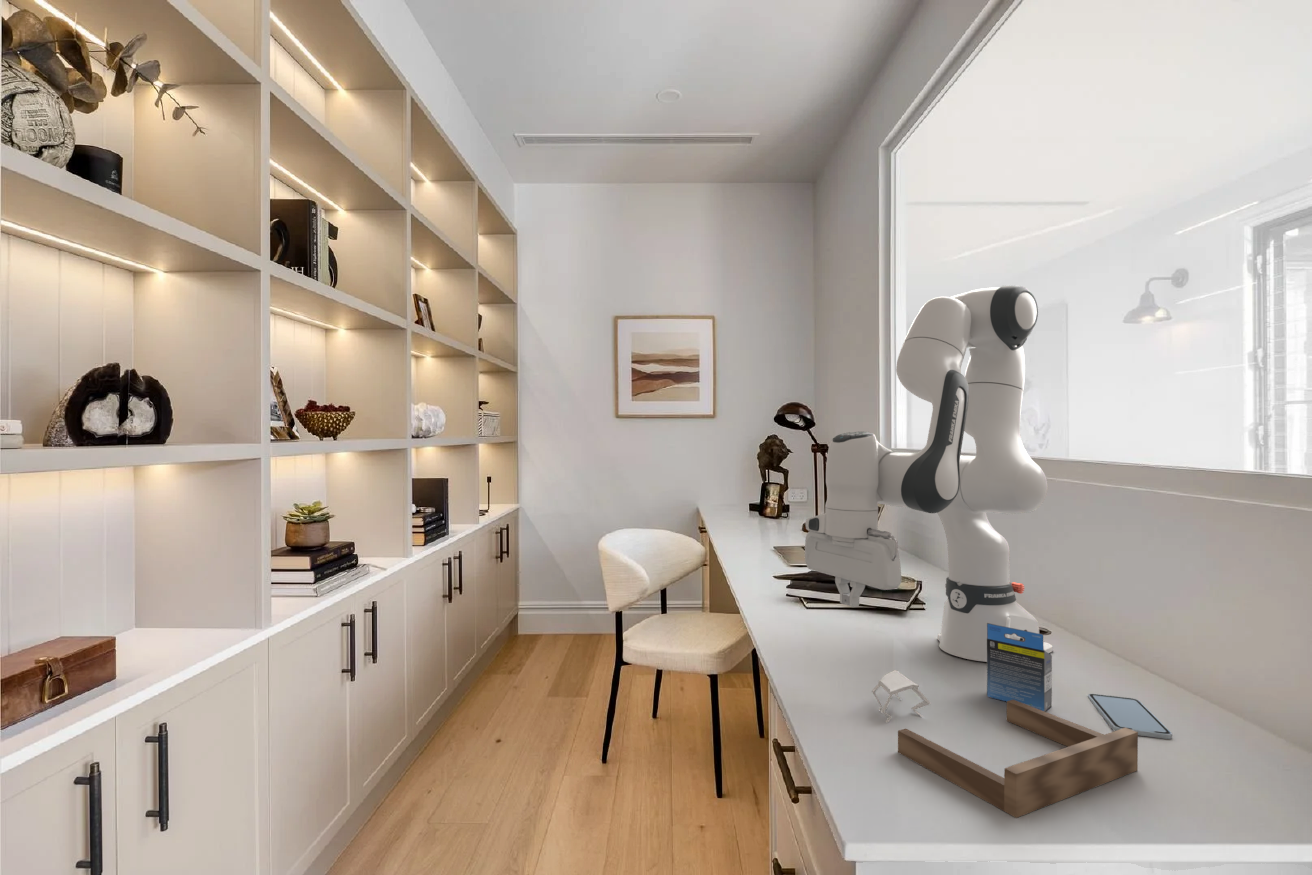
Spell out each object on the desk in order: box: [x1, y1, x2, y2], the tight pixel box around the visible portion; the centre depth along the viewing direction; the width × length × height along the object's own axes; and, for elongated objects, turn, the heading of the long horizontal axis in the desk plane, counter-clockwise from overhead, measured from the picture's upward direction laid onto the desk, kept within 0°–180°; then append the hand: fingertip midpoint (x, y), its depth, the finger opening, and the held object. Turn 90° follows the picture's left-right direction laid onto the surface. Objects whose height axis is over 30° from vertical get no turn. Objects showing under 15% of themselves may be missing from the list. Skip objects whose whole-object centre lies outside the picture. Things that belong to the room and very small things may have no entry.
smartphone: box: [1087, 693, 1173, 740], centre depth 104 cm, size 7×1×15 cm
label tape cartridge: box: [986, 623, 1053, 712], centre depth 110 cm, size 9×4×12 cm, turn 42°
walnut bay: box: [897, 700, 1139, 819], centre depth 90 cm, size 24×18×5 cm
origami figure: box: [871, 669, 932, 723], centre depth 107 cm, size 12×8×5 cm
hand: (849, 605), depth 117 cm, fingers closed
